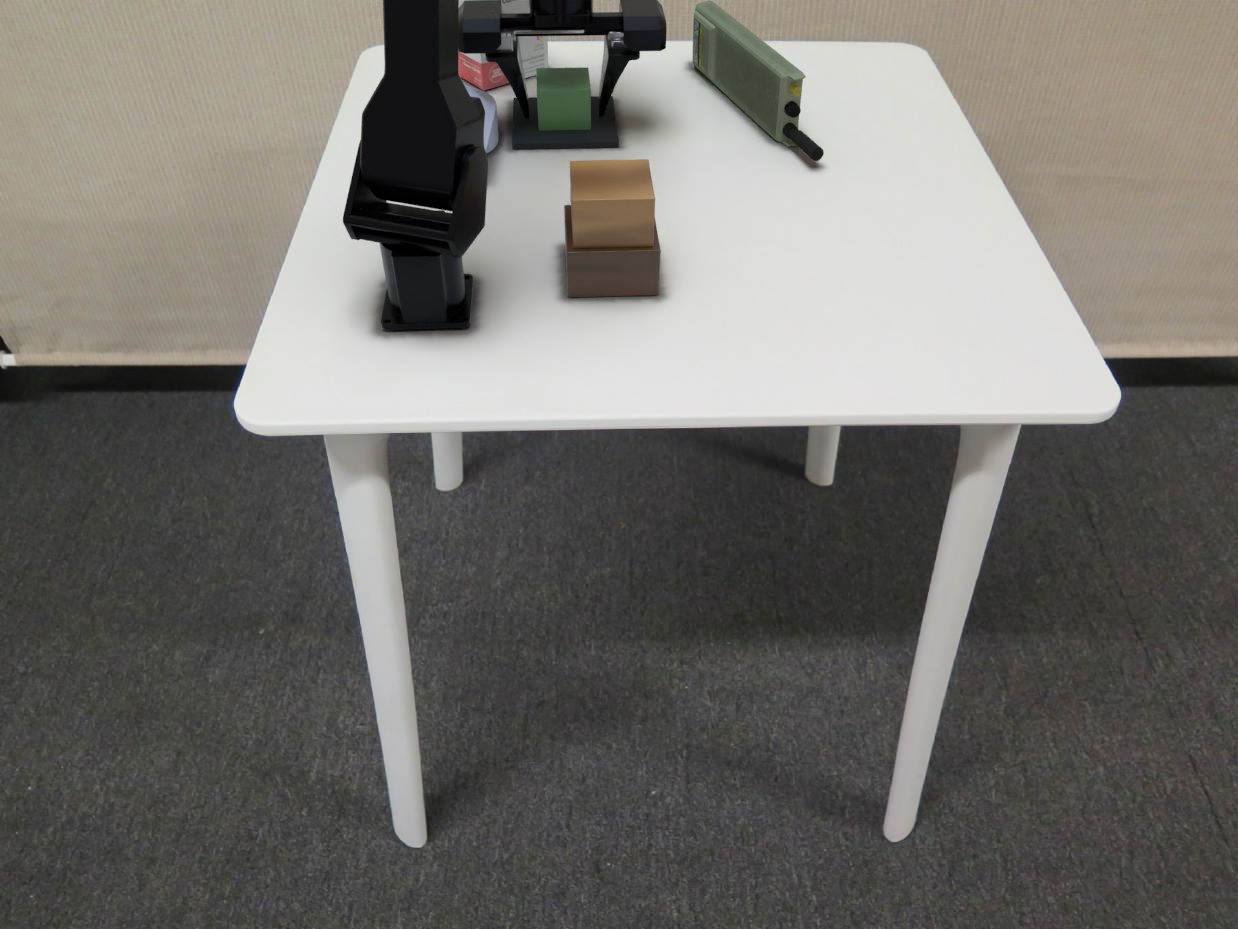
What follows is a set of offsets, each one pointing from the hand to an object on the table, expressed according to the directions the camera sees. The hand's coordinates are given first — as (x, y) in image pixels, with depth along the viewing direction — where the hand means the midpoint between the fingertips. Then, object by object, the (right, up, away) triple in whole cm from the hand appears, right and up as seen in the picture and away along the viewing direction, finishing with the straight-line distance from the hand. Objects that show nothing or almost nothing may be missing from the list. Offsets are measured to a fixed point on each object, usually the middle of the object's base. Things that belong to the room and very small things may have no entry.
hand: (564, 115), depth 98 cm
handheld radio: (+19, +1, +3) cm, 19 cm away
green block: (0, 0, 0) cm, 0 cm away
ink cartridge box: (-7, +7, +9) cm, 13 cm away
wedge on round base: (-11, -5, -3) cm, 12 cm away
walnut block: (+5, -19, -18) cm, 26 cm away
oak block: (+5, -16, -21) cm, 26 cm away
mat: (0, -1, +1) cm, 1 cm away
